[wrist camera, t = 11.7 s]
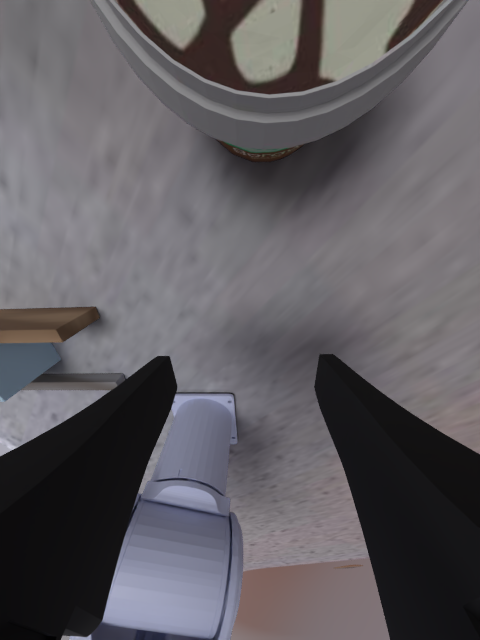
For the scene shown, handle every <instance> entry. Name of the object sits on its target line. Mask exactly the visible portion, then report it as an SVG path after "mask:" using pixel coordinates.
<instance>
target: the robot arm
mask: <svg viewBox="0 0 480 640" xmlns="http://www.w3.org/2000/svg"><path fill="white" fill-rule="evenodd" d="M314 388H315V392H316V395H317V399H318V403H319V406H320V409H321V412H322V415H323V417H324V420H325V422H326V425H327V427H328V430H329V432H330V435H331V437H332V440H333V442H334V445H335V447H336V449H337V452H338V454H339V457H340V459H341V462H342V465H343V468H344V471H345V474H346V477H347V480H348V483H349V487H350V490H351V493H352V497H353V500H354V503H355V507H356V510H357V514H358V517H359V521H360V524H361V528H362V531H363V535H364V538H365V542H366V546H367V549H368V553H369V557H370V560H371V564H372V568H373V572H374V575H375V579H376V583H377V587H378V592H379V596H380V600H381V604H382V607H383V612H384V616H385V620H386V624H387V628H388V632H389V636H390V640H480V454H478V453H476V452H475V451H473V450H471V449H469V448H468V447H466V446H464V445H462V444H460V443H459V442H457V441H455V440H453V439H452V438H450V437H448V436H447V435H445V434H443V433H442V432H440V431H438V430H437V429H435V428H433V427H432V426H430V425H429V424H427V423H426V422H424V421H422V420H421V419H419V418H418V417H416V416H415V415H413V414H411V413H410V412H408V411H407V410H406V409H404V408H403V407H401V406H400V405H398V404H397V403H395V402H394V401H393V400H391V399H390V398H388V397H387V396H386V395H384V394H383V393H382V392H380V391H379V390H378V389H376V388H375V387H374V386H372V385H371V384H370V383H368V382H367V381H366V380H365V379H363V378H362V377H361V376H360V375H358V374H357V373H356V372H355V371H353V370H352V369H351V368H350V367H348V366H347V365H346V364H345V363H344V362H342V361H341V360H340V359H339V358H337V357H336V356H335V355H333V354H320V355H319V361H318V367H317V374H316V380H315V386H314ZM176 391H177V383H176V379H175V375H174V371H173V368H172V364H171V360H170V356H157V357H156V358H154V359H153V360H151V361H150V362H149V363H147V364H146V365H145V366H143V367H142V368H141V369H139V370H138V371H137V372H135V373H134V374H133V375H132V376H130V377H129V378H128V379H126V380H125V381H124V382H122V383H121V384H120V385H118V386H117V387H115V388H114V389H113V390H111V391H110V392H108V393H107V394H106V395H104V396H103V397H101V398H100V399H98V400H97V401H96V402H94V403H93V404H91V405H90V406H88V407H87V408H85V409H84V410H82V411H80V412H79V413H77V414H76V415H74V416H72V417H71V418H69V419H67V420H66V421H64V422H63V423H61V424H59V425H57V426H56V427H54V428H52V429H50V430H49V431H47V432H45V433H43V434H41V435H40V436H38V437H36V438H34V439H32V440H31V441H29V442H27V443H25V444H23V445H21V446H20V447H18V448H16V449H14V450H12V451H10V452H8V453H6V454H4V455H2V456H0V640H61V638H62V635H66V636H70V638H69V640H230V639H231V634H232V629H233V625H234V622H235V619H236V616H237V612H238V607H239V601H240V594H241V587H242V576H243V537H242V530H241V527H240V524H239V522H238V519H237V517H236V515H235V513H232V512H229V510H230V498H228V497H225V495H226V484H227V473H228V462H229V451H230V444H237V441H238V439H237V428H236V416H235V405H234V396H233V395H232V394H176ZM229 400H230V401H229ZM171 408H172V412H173V415H174V420H173V423H172V425H171V428H170V431H169V433H168V436H167V439H166V441H165V444H164V446H163V449H162V452H161V454H160V457H159V460H158V462H157V465H156V467H155V470H154V473H153V475H152V478H151V481H147V484H146V486H145V489H144V491H143V494H139V493H138V491H139V488H140V485H141V482H142V479H143V476H144V473H145V470H146V467H147V464H148V462H149V459H150V457H151V454H152V452H153V449H154V447H155V445H156V443H157V440H158V438H159V436H160V433H161V431H162V429H163V426H164V424H165V422H166V419H167V417H168V415H169V412H170V410H171ZM141 495H142V496H141Z"/></svg>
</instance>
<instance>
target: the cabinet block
mask: <svg viewBox="0 0 480 640" xmlns="http://www.w3.org/2000/svg"><path fill="white" fill-rule="evenodd" d="M60 360H61V358H60V357H59V355H58V353H57V351H56V350H55V348H54V346H53V344H52V343H51V342H50V343H0V402H5V401H6V400H8V399H9V398H10V397H12V396H13V395H14V394H16V393H17V392H18V391H20V390H21V389H22V388H24V387H25V386H26V385H28V384H29V383H30V382H32V381H33V380H34V379H36V378H37V377H38V376H40V375H41V374H42V373H44V372H45V371H46V370H48V369H49V368H50V367H52V366H53V365H54V364H56V363H57V362H58V361H60Z"/></svg>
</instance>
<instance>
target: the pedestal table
mask: <svg viewBox="0 0 480 640" xmlns="http://www.w3.org/2000/svg"><path fill="white" fill-rule="evenodd" d="M99 318H100V317H99V314H98V312H97V309H96V307H72V308H36V309H0V343H50V342H64V341H65V340H67V339H69V338H70V337H72V336H73V335H75V334H76V333H78V332H79V331H81V330H82V329H84V328H85V327H87V326H88V325H90V324H91V323H93V322H94V321H96V320H97V319H99ZM124 381H125V378H124V375H123V374H41V375H40V376H38V377H37V378H36V379H34V380H33V381H32V382H30V383H29V384H28V385H26V386H25V387H24V388H22V389H21V390H113V389H114V388H115V387H117V386H118V385H120V384H121V383H122V382H124Z"/></svg>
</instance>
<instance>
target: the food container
mask: <svg viewBox="0 0 480 640" xmlns="http://www.w3.org/2000/svg"><path fill="white" fill-rule="evenodd" d="M90 1H91V3H92V5H93V7H94V9H95V10H96V12H97V14H98V16H99V18H100V19H101V21H102V23H103V25H104V26H105V28H106V30H107V32H108V34H109V35H110V37H111V39H112V41H113V42H114V44H115V45H116V47H117V48H118V50H119V51H120V52H121V54H122V55H123V57H124V58H125V59H126V61H127V62H128V64H129V65H130V66H131V68H132V69H133V71H134V72H135V73H136V75H137V76H138V77H139V78H140V80H141V81H142V82H143V83H144V84H145V85H146V86H147V87H148V88H149V89H150V90H151V92H152V93H153V94H154V95H155V96H156V97H157V98H158V99H159V100H160V101H161V102H162V103H163V104H164V105H165V106H166V107H168V108H169V109H170V110H171V111H172V112H174V113H175V114H176V115H177V116H179V117H180V118H181V119H182V120H184V121H185V122H186V123H187V124H189V125H191V126H193V127H194V128H196V129H198V130H200V131H201V132H203V133H205V134H207V135H208V136H210V137H212V138H215V139H216V140H217V141H219V142H220V143H221V144H222V145H223V146H224V147H225V148H227V149H228V150H229V151H230V152H231V153H232V154H234V155H236V156H239V157H242V158H244V159H247V160H249V161H252V162H271V161H275V160H279V159H282V158H284V157H286V156H288V155H290V154H292V153H293V152H295V151H296V150H298V149H299V148H300V147H302V146H303V145H304V144H306V143H309V142H313V141H317V140H319V139H321V138H323V137H325V136H327V135H330V134H332V133H334V132H336V131H338V130H340V129H342V128H344V127H346V126H347V125H349V124H350V123H352V122H353V121H355V120H356V119H358V118H359V117H361V116H362V115H364V114H365V113H367V112H368V111H370V110H371V109H373V108H374V107H375V106H376V105H377V104H378V103H379V102H381V101H382V100H383V99H384V98H385V97H386V96H387V95H388V94H390V93H391V92H392V91H393V90H394V89H395V88H396V87H397V86H399V85H400V84H401V83H402V82H403V81H404V80H405V79H406V78H407V76H408V75H409V74H410V73H411V72H412V71H413V70H414V69H415V68H416V66H417V65H418V64H419V63H420V62H421V61H422V60H423V59H424V57H425V56H426V55H427V54H428V53H429V52H430V51H431V50H432V48H433V47H434V46H435V45H436V43H437V42H438V41H439V39H440V38H441V37H442V35H443V34H444V33H445V31H446V30H447V28H448V27H449V26H450V24H451V23H452V22H453V20H454V19H455V18H456V16H457V15H458V14H459V12H460V11H461V10H462V8H463V7H464V6H465V4H466V3H467V1H468V0H90Z"/></svg>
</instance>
